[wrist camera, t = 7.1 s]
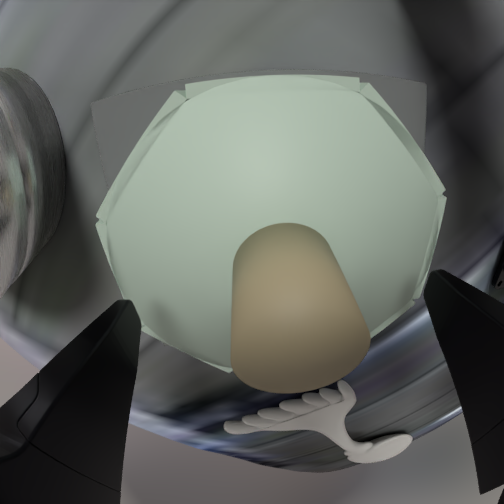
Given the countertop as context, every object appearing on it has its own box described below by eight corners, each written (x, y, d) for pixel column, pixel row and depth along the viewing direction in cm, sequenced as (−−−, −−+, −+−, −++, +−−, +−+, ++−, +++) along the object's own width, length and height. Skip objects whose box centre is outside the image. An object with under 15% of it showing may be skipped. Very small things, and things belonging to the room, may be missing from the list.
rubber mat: (417, 82, 8) (426, 83, 7) (383, 316, 14) (386, 324, 14) (97, 101, 8) (90, 103, 8) (166, 337, 14) (164, 345, 14)
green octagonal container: (421, 89, 8) (542, 119, 3) (384, 321, 14) (422, 409, 9) (99, 108, 8) (-20, 147, 3) (168, 342, 14) (151, 440, 9)
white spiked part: (335, 343, 16) (349, 391, 13) (413, 432, 30) (419, 450, 27) (219, 393, 18) (218, 435, 15) (360, 455, 33) (364, 473, 30)
